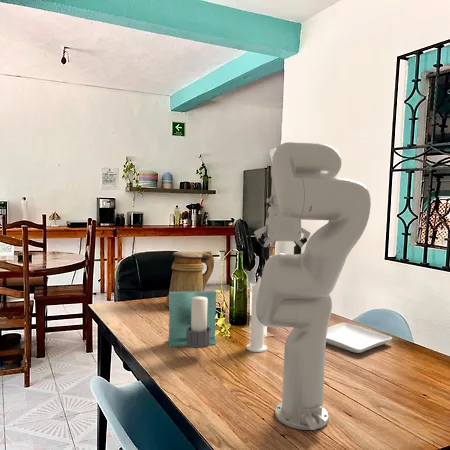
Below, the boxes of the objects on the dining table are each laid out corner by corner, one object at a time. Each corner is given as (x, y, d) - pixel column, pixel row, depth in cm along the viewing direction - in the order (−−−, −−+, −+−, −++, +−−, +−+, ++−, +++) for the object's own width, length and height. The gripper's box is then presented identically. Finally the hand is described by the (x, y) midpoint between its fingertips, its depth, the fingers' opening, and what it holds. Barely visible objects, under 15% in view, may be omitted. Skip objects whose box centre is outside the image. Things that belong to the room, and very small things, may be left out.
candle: (266, 353, 145) (269, 279, 143) (244, 351, 146) (247, 277, 144) (268, 346, 152) (271, 275, 150) (248, 344, 153) (250, 273, 151)
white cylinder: (207, 343, 138) (209, 300, 137) (192, 344, 137) (193, 300, 136) (204, 338, 143) (206, 296, 142) (189, 339, 142) (190, 296, 141)
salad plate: (359, 359, 144) (359, 348, 143) (308, 340, 160) (309, 331, 160) (393, 346, 157) (394, 336, 157) (343, 330, 173) (344, 321, 173)
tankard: (158, 303, 203) (159, 250, 201) (202, 297, 217) (203, 247, 215) (177, 313, 189) (178, 255, 187) (222, 306, 202) (224, 252, 200)
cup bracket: (225, 359, 138) (226, 303, 137) (174, 362, 135) (175, 305, 133) (212, 338, 158) (213, 289, 156) (167, 340, 154) (168, 290, 152)
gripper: (259, 202, 123) (257, 262, 125) (316, 203, 127) (313, 261, 129) (252, 201, 130) (249, 258, 132) (305, 202, 134) (303, 257, 136)
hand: (281, 260), depth 130 cm, fingers open, 9 cm apart
